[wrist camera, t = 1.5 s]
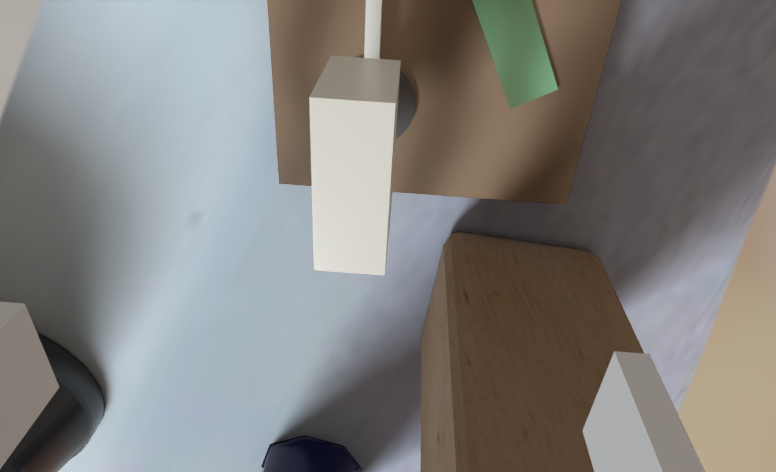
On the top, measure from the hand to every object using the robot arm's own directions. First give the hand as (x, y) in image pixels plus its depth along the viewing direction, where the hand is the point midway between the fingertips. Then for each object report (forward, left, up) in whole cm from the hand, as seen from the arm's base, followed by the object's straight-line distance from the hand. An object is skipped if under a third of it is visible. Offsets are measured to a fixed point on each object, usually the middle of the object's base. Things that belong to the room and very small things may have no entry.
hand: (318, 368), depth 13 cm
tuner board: (+3, +3, -20) cm, 21 cm away
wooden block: (+9, -14, -21) cm, 26 cm away
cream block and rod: (0, +3, -17) cm, 17 cm away
